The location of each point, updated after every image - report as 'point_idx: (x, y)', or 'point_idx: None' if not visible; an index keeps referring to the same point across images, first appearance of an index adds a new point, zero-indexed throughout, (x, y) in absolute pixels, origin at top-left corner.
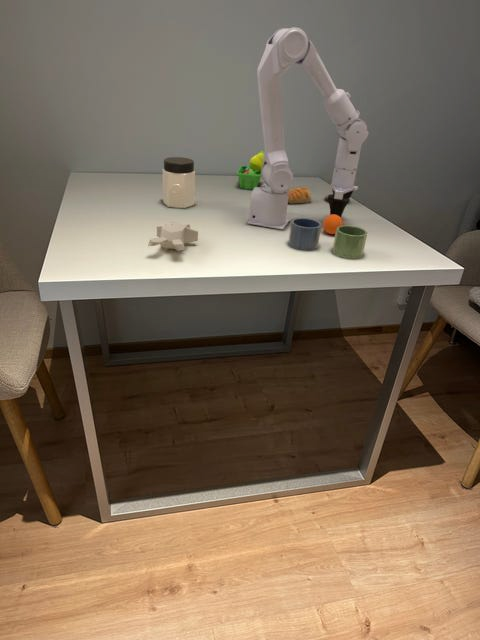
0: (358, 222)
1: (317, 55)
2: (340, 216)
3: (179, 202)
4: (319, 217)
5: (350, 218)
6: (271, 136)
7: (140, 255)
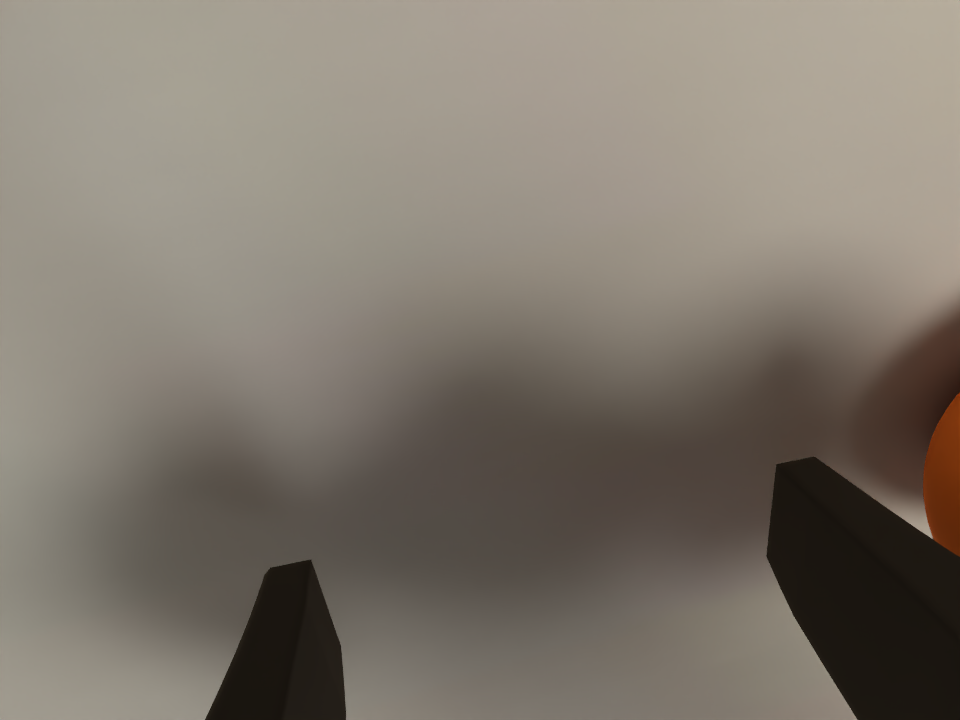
0: (122, 220)
1: None
2: (937, 545)
3: None
4: (382, 706)
5: (7, 413)
6: None
7: None
